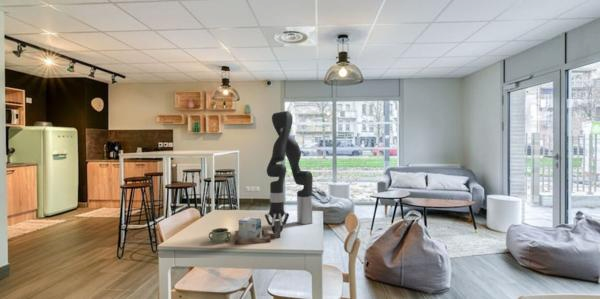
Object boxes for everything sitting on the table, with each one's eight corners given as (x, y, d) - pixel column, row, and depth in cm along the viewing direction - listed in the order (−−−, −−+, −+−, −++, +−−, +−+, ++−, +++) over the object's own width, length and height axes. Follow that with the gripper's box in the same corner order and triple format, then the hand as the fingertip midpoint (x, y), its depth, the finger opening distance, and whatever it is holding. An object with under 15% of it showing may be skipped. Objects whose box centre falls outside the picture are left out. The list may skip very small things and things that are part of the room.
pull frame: (277, 231, 180) (277, 218, 180) (282, 241, 163) (281, 225, 163) (235, 234, 176) (234, 220, 176) (234, 244, 158) (234, 228, 158)
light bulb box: (262, 237, 170) (261, 217, 170) (256, 241, 164) (256, 220, 164) (244, 236, 173) (244, 216, 173) (238, 239, 167) (238, 219, 167)
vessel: (233, 239, 168) (233, 227, 168) (229, 244, 159) (229, 232, 159) (211, 239, 168) (211, 227, 168) (206, 244, 159) (205, 232, 159)
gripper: (288, 199, 176) (288, 229, 176) (263, 200, 173) (263, 231, 174) (290, 201, 169) (290, 233, 169) (264, 202, 166) (264, 234, 166)
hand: (277, 232), depth 171 cm, fingers closed on pull frame, 3 cm apart
